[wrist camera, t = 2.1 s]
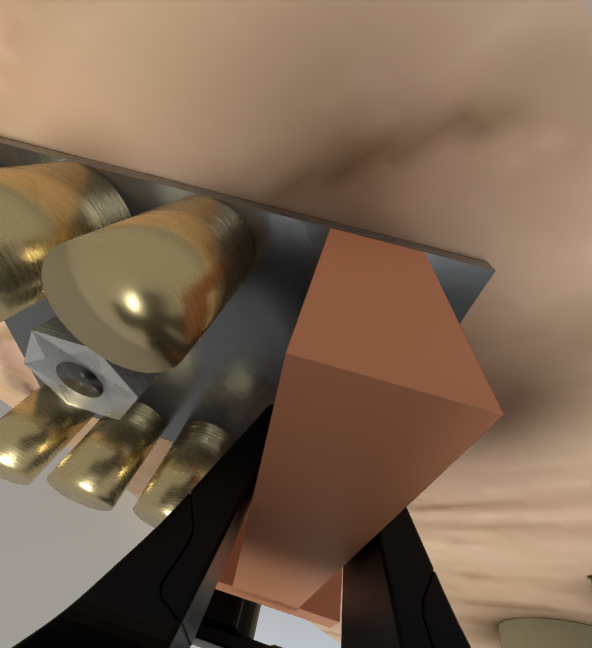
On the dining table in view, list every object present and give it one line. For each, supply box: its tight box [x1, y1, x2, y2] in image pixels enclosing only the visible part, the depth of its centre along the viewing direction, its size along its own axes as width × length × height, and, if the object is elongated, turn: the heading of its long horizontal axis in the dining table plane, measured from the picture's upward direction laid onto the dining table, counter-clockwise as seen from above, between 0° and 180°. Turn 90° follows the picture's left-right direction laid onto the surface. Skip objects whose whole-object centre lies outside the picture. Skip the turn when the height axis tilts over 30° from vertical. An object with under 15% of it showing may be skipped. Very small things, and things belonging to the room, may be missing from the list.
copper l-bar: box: [215, 228, 504, 627], centre depth 9 cm, size 6×14×5 cm, turn 169°
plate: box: [0, 137, 495, 528], centre depth 11 cm, size 14×18×5 cm
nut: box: [24, 316, 159, 420], centre depth 11 cm, size 4×5×2 cm
